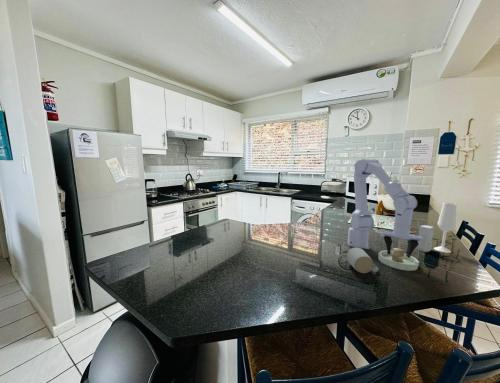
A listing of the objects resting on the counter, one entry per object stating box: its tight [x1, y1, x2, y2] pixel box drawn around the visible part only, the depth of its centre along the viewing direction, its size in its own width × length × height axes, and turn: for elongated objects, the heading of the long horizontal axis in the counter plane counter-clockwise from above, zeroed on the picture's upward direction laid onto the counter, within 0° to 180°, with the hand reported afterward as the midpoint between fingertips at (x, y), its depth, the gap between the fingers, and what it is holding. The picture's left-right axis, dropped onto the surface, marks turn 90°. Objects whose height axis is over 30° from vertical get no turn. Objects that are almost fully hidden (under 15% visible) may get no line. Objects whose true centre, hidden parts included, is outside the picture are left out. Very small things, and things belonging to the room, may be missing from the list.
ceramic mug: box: [346, 247, 379, 274], centre depth 84 cm, size 11×8×8 cm
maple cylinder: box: [392, 247, 405, 263], centre depth 91 cm, size 4×4×5 cm
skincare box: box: [416, 224, 435, 253], centre depth 107 cm, size 6×4×12 cm
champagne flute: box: [433, 202, 457, 254], centre depth 107 cm, size 7×7×24 cm
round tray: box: [377, 249, 420, 272], centre depth 91 cm, size 14×14×3 cm
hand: (398, 255), depth 91 cm, fingers open, 6 cm apart
